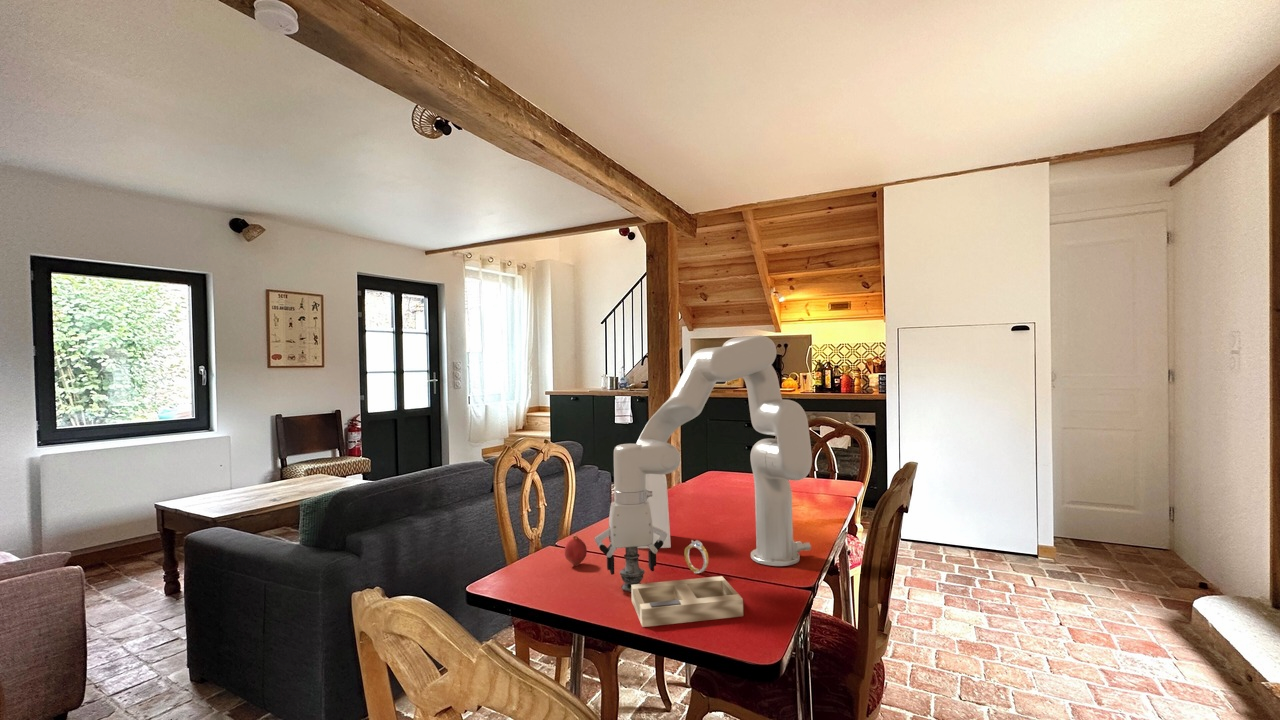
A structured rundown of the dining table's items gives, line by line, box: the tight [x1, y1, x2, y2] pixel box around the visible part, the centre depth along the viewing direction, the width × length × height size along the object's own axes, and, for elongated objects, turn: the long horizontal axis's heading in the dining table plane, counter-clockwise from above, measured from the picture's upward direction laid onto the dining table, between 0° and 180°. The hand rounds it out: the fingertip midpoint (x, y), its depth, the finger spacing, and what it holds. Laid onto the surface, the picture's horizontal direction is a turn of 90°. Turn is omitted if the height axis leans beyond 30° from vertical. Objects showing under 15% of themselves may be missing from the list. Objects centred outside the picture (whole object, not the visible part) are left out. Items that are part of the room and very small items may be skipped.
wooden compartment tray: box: [630, 575, 744, 628], centre depth 118 cm, size 21×13×4 cm, turn 100°
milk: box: [638, 474, 672, 549], centre depth 165 cm, size 12×12×26 cm
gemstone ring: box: [683, 539, 709, 574], centre depth 138 cm, size 7×3×8 cm, turn 38°
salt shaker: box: [619, 547, 646, 593], centre depth 130 cm, size 6×6×12 cm
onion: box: [564, 534, 588, 567], centre depth 146 cm, size 6×6×8 cm
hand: (631, 570), depth 130 cm, fingers open, 9 cm apart
